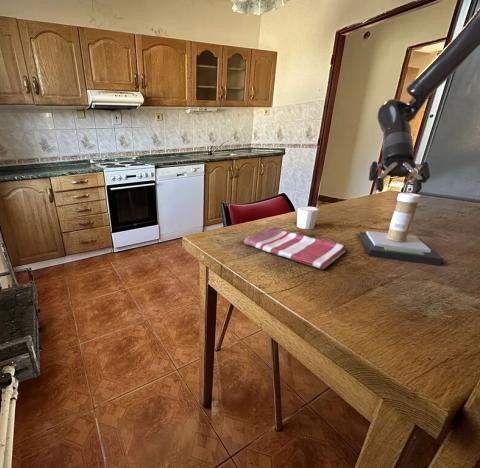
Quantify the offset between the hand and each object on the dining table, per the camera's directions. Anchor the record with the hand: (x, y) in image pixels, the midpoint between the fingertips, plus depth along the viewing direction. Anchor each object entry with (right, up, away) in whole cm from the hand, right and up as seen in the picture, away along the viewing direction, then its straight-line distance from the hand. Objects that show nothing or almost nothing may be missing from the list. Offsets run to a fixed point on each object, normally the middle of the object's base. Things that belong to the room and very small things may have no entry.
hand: (398, 191), depth 78 cm
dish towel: (-33, -18, -1) cm, 37 cm away
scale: (-4, -18, -4) cm, 19 cm away
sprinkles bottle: (-4, -15, -3) cm, 16 cm away
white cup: (-19, -10, +17) cm, 28 cm away
